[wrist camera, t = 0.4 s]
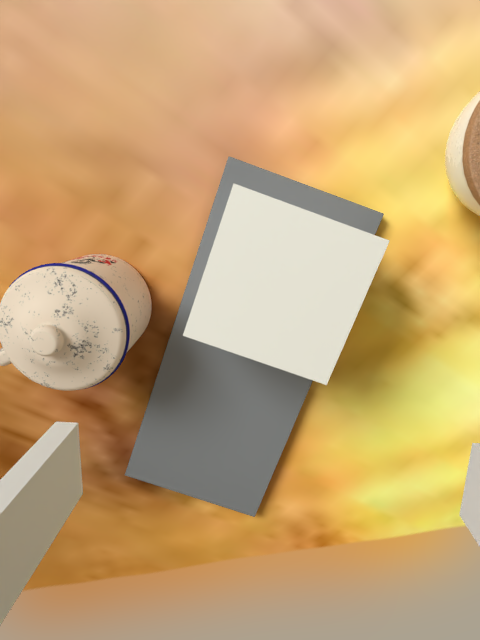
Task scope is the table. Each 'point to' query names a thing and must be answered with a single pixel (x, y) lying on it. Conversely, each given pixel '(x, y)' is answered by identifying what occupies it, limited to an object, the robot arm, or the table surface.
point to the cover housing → (283, 284)
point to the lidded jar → (465, 156)
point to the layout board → (227, 380)
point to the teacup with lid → (73, 320)
